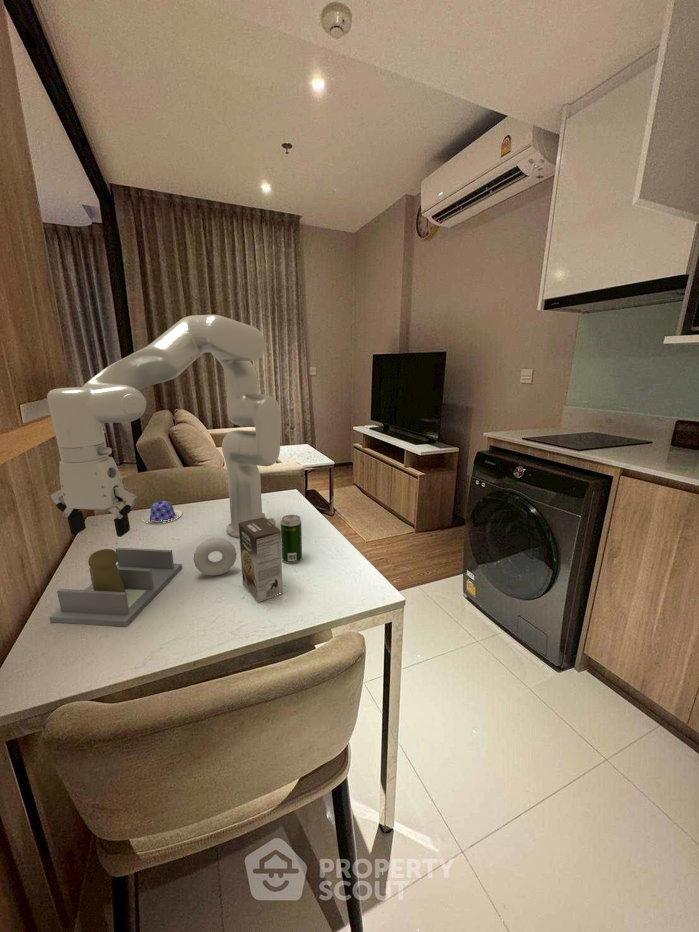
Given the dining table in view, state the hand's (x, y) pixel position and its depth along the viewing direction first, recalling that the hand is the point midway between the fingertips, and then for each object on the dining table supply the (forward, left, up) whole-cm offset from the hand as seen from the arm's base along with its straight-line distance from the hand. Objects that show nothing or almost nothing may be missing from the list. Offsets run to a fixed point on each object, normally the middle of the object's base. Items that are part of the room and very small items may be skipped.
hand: (101, 532), depth 77 cm
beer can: (-35, -22, -17) cm, 44 cm away
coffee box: (-31, -8, -17) cm, 36 cm away
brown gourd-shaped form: (0, 0, -15) cm, 15 cm away
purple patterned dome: (+15, -45, -17) cm, 51 cm away
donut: (-18, -13, -17) cm, 28 cm away
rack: (0, -4, -17) cm, 17 cm away
